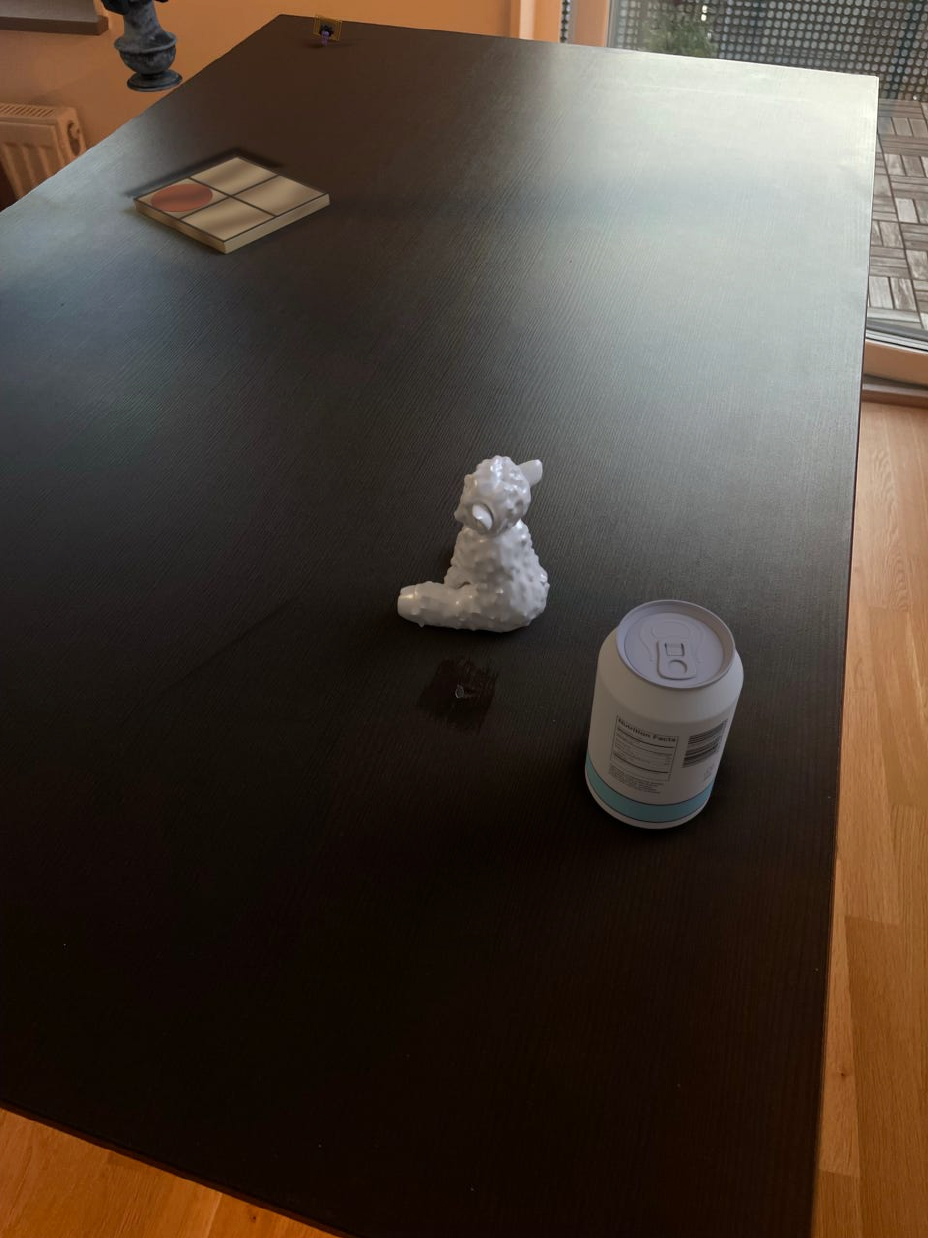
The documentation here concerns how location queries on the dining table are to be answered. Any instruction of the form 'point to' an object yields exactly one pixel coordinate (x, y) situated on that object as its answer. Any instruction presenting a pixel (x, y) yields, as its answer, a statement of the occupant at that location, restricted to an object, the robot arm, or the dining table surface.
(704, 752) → the beverage can
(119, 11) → the robot arm
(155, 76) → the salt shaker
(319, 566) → the dining table surface
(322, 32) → the framed picture
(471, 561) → the white creature statuette
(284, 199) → the board
